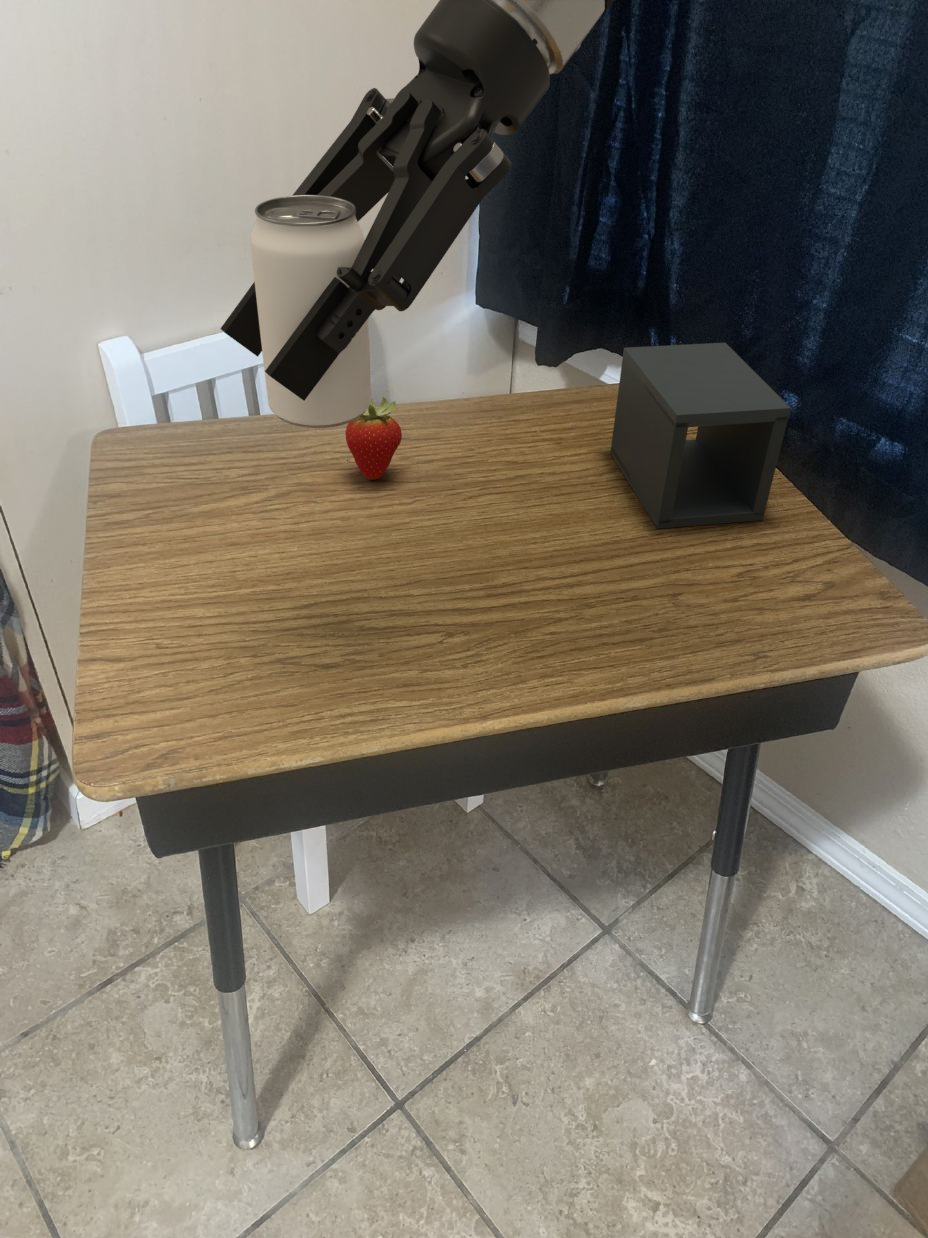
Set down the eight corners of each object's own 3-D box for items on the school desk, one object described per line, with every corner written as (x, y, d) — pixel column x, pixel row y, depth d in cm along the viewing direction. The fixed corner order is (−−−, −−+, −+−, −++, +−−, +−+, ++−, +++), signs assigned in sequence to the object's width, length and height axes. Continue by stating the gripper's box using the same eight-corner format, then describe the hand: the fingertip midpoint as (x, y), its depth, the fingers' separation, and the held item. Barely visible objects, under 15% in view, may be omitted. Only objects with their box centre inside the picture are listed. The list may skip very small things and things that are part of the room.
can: (282, 382, 65) (263, 189, 57) (379, 388, 64) (372, 195, 57) (256, 427, 59) (232, 222, 52) (362, 433, 59) (352, 228, 52)
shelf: (763, 520, 88) (791, 407, 81) (657, 529, 86) (676, 414, 80) (704, 447, 99) (725, 342, 92) (609, 453, 97) (623, 347, 90)
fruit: (396, 461, 95) (394, 384, 90) (407, 489, 91) (406, 409, 86) (343, 467, 94) (339, 389, 89) (353, 495, 90) (349, 415, 85)
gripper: (645, 113, 51) (376, 462, 54) (456, 57, 64) (248, 342, 67) (572, -3, 46) (278, 393, 49) (381, -38, 59) (159, 276, 62)
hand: (261, 363), depth 58 cm, fingers closed on can, 6 cm apart
